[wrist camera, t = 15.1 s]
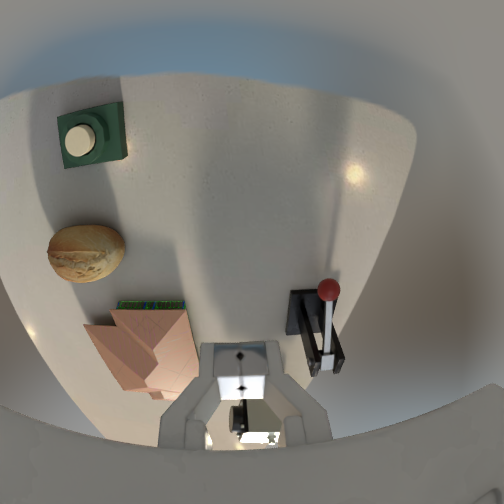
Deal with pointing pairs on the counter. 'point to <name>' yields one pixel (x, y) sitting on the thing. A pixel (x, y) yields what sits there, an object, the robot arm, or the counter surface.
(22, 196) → the counter surface
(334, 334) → the bracket
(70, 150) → the button
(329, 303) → the lever
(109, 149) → the control block
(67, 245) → the bread roll
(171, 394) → the house
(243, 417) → the ball valve
